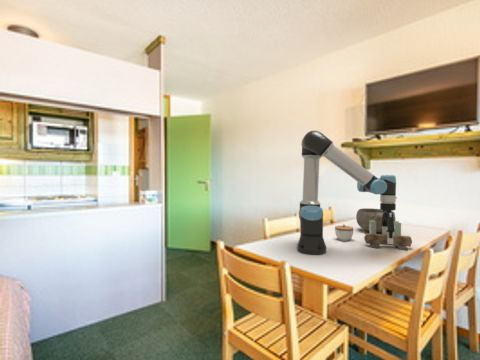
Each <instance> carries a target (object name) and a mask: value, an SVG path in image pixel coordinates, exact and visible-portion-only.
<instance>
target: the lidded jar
mask: <svg viewBox="0 0 480 360" xmlns="http://www.w3.org/2000/svg"><path fill="white" fill-rule="evenodd" d="M334 233H335V236H336V238H337V239H338V240H339V241H343V242H348V241H350V240H351V239H352V238H353V235H354V227H353V226H351V225H350V226H349V225H346V224H343V225H335V226H334Z"/></svg>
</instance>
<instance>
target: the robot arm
mask: <svg viewBox="0 0 480 360" xmlns="http://www.w3.org/2000/svg"><path fill="white" fill-rule="evenodd" d="M300 144H301V157H302V158H303V181H302V183H303V184H302V186H303V187H302V200H300V201H299V209H298V210H299V211H298V217H299V221H300V229H299V230H300V232H299V233H300V234H299V235H300V236H299V239H298V242H297V246H296V249H297V251H298V252H300V253H301V254H306V255H313V256H314V255H316V256H317V255H323V254H324V255H325V253H327V245H326V242H325V239H324V237H323V236H324V211H323V208H322V207H321V202H320V201H319V200H318V199H319V198H318V197H319V183H320V182H319V181H320V180H319V179H320V159H322V157H324V158H326V159H327V160H328V161H329V162H330V163H332V164H333V165H335V166H336V167H337V168H338V169H340V170H342V172H343V173H345V174H347V175H348V176H349V177H350V178H352V179H353V180H355V181H356V187H357V191H358V192H360V193H371V194H373V195H380V196H379V202H380V203H379V205H380V206H379V209H381V210H383V215H382V223H381V224H382V233H381V234H383V235H387V244H393V232H394V231H395V230H394V220H393V213H391V211H396V210H397V208H396V207H397V206H396V205H397V204H396V199H398V197H397V196H396V195H397V191H396V190H397V176H396V175H394V174H381V175H380V177H379V178H378V177H377V176H375V175H374V174H373V173H372V172H370V171H369V170H368V169H366V168H365V167H364V166H362V165H361V164H360V163H358V162H357V161H356V160H355V159H354V158H351V157H350V156H349V155H347V154H346V153H345V152H344V151H342V150H341V149H339V148H338V147H337V146H336V145H334V142H333V141H332V140H331V139H330V138H328V137H327V136H326V135H325V134H324V133H322V132H321V131H318V130H310V131H308V132H307V133H306V134H305V135H304V136H303V138H302V140H301V143H300ZM386 226H387V227H386Z"/></svg>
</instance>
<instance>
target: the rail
mask: <svg viewBox="0 0 480 360" xmlns="http://www.w3.org/2000/svg"><path fill="white" fill-rule="evenodd" d="M363 238H364V242H365V244H367V245H370V244H379V245H380V246H381V245H383V246H394V247H395V246H406V247H407V248H408V247H409V248H410V247H412V244H413V240H412V237H411V236H410V235H401V236H400V235H393V244H387V235H383V234H382V233H376V234H369V233H367V232H366V233H365V236H364V237H363Z"/></svg>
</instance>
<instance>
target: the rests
mask: <svg viewBox="0 0 480 360" xmlns="http://www.w3.org/2000/svg"><path fill="white" fill-rule="evenodd" d="M369 246H370V247H371V249H381V245H379V244H369ZM394 247H395V248H396V249H397V250H398V251H408V247H407V246H394Z"/></svg>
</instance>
